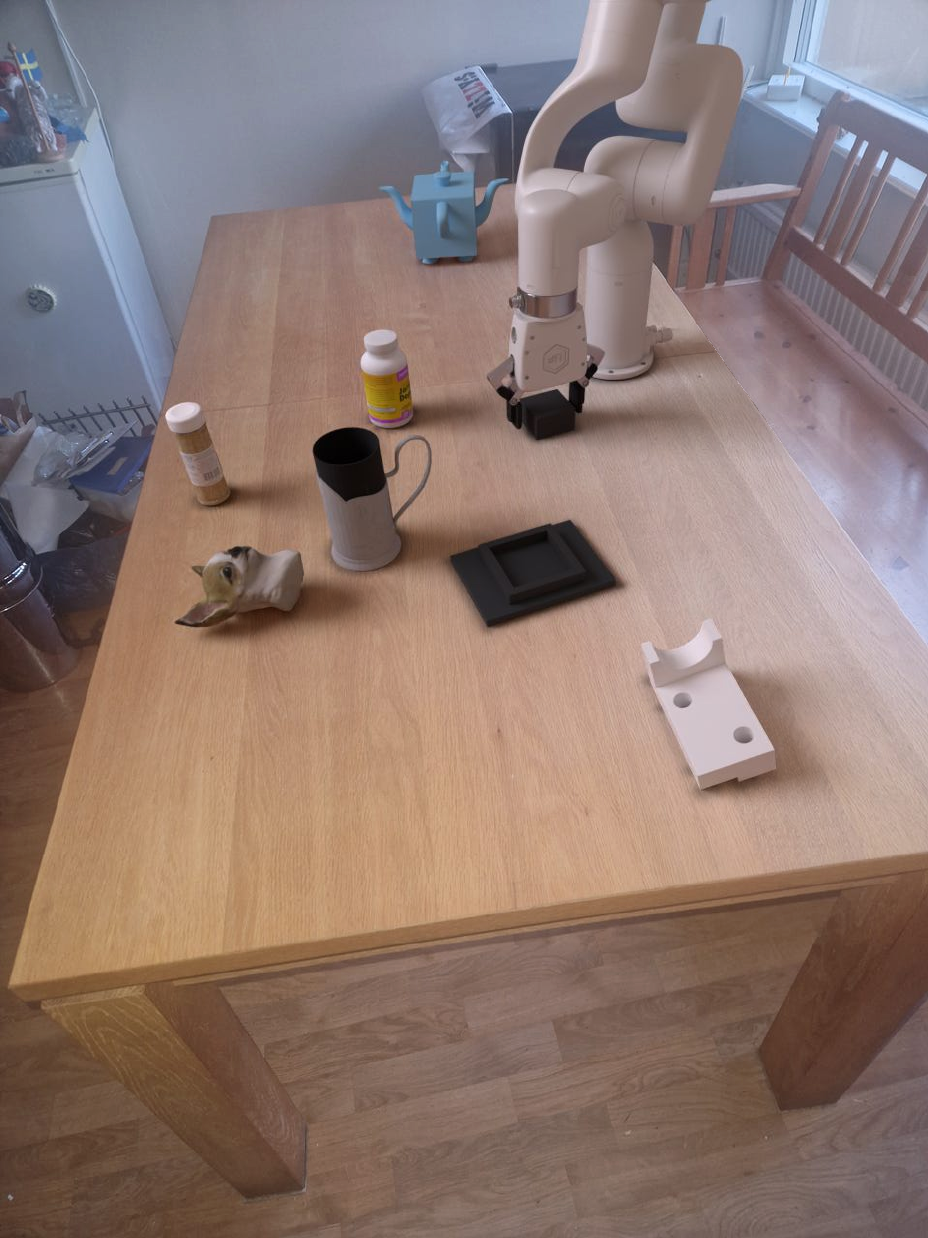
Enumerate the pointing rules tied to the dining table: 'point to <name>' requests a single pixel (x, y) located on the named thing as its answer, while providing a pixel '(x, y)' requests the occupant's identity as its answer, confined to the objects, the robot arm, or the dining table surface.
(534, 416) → the black pad
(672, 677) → the bracket
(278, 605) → the ceramic sculpture
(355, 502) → the glass holder
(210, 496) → the sprinkles bottle
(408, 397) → the supplement bottle
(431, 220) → the teakettle
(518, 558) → the base pad
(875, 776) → the dining table surface
